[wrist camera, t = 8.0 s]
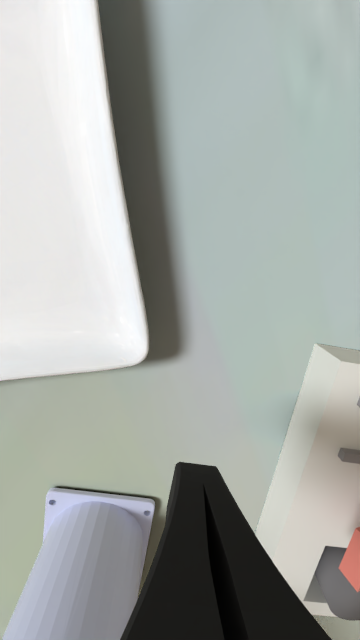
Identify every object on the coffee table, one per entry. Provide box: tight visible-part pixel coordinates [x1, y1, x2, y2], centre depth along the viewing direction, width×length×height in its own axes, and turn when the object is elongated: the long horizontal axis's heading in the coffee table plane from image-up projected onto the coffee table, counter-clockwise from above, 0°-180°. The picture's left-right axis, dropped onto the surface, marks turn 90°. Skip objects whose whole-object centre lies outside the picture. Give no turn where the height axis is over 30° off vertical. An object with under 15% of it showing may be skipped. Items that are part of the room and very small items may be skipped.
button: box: [314, 546, 360, 620], centre depth 21 cm, size 4×4×3 cm
